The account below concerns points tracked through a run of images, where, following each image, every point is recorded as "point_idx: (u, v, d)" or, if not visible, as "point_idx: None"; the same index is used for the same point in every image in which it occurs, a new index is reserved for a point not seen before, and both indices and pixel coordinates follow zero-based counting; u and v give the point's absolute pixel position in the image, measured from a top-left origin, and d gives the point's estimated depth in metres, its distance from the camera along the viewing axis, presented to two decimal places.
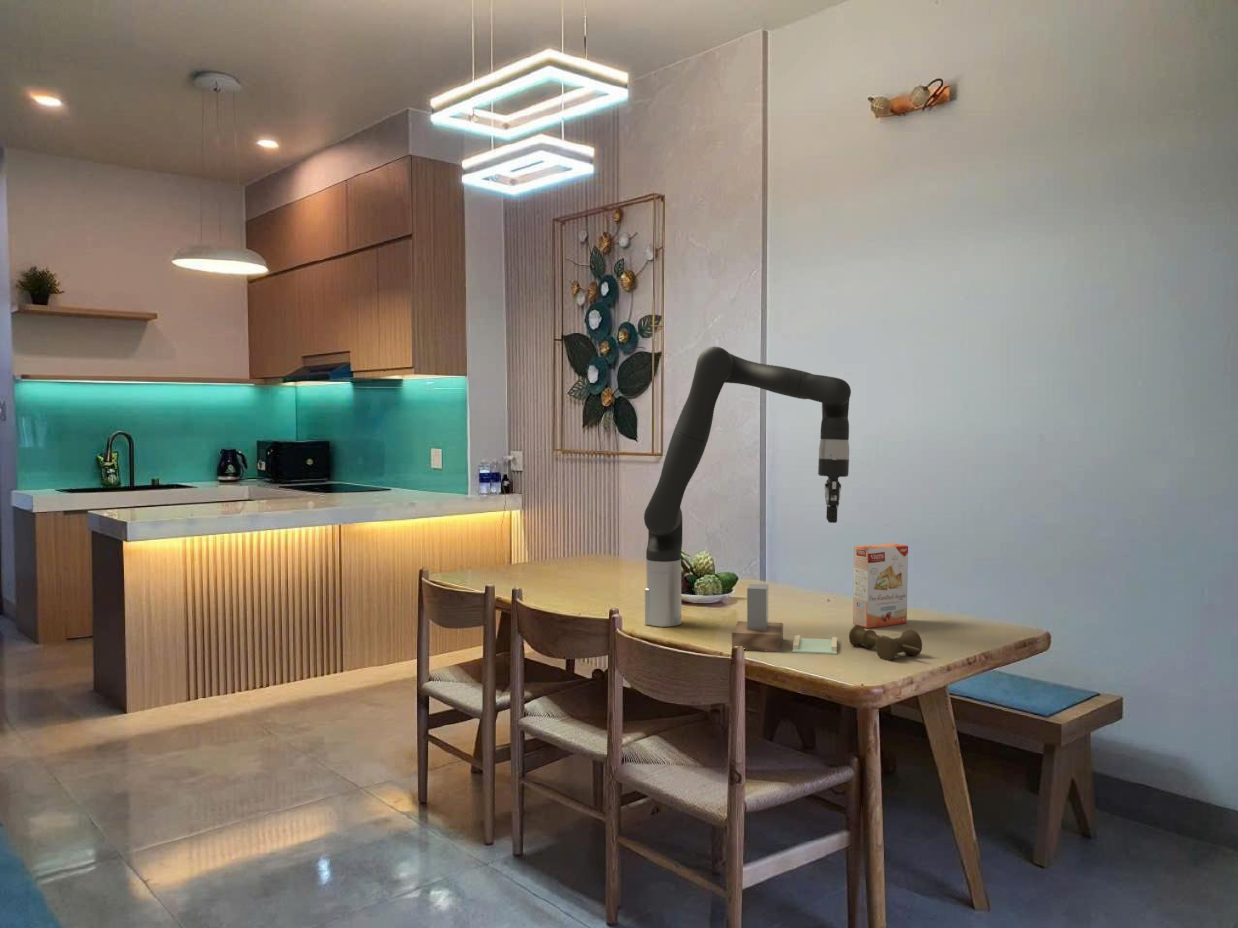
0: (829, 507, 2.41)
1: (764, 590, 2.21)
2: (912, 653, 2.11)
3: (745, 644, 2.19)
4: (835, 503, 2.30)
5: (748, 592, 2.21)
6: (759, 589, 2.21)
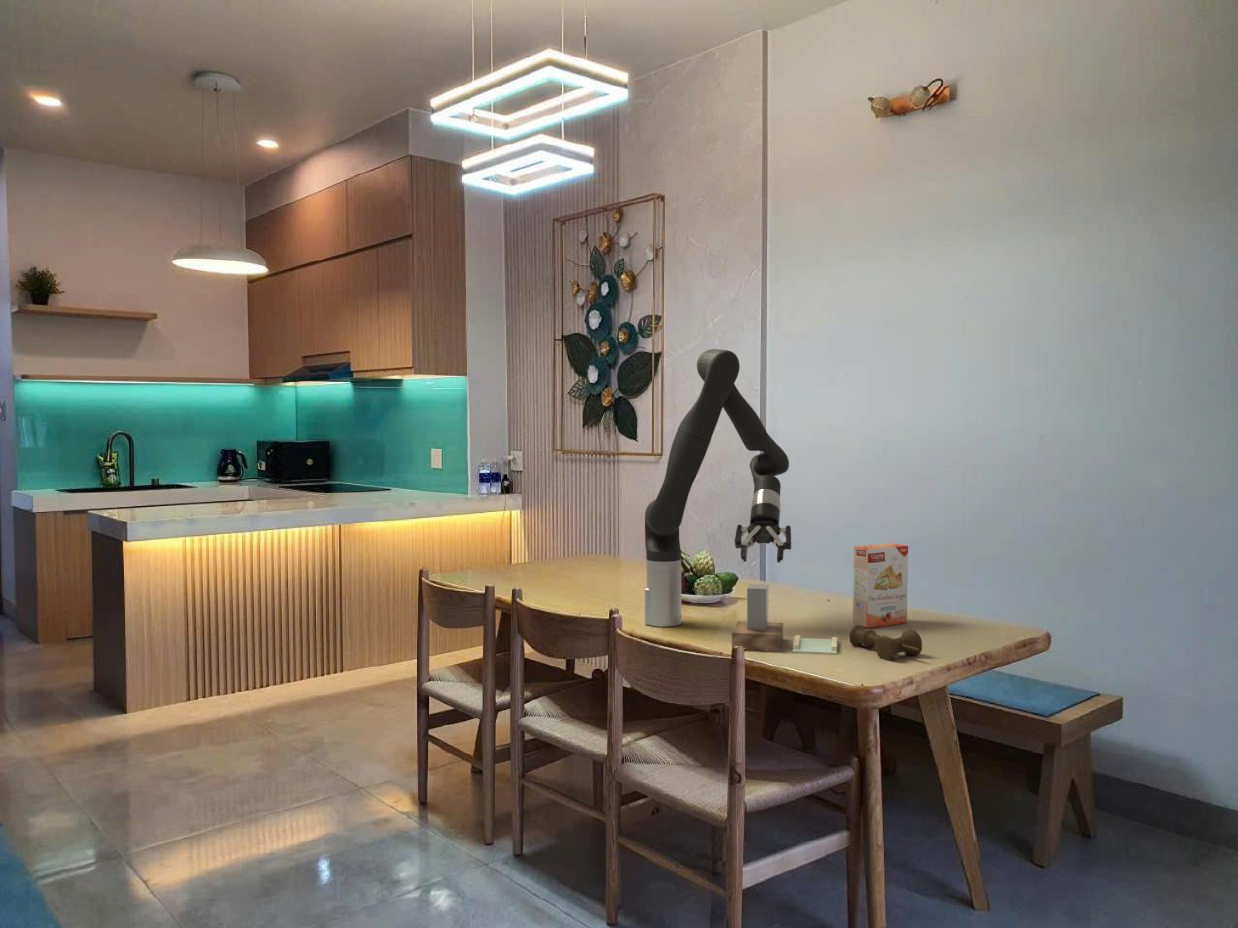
0: (746, 548, 2.38)
1: (764, 590, 2.21)
2: (912, 653, 2.11)
3: (745, 644, 2.19)
4: (790, 546, 2.37)
5: (748, 592, 2.21)
6: (759, 589, 2.21)
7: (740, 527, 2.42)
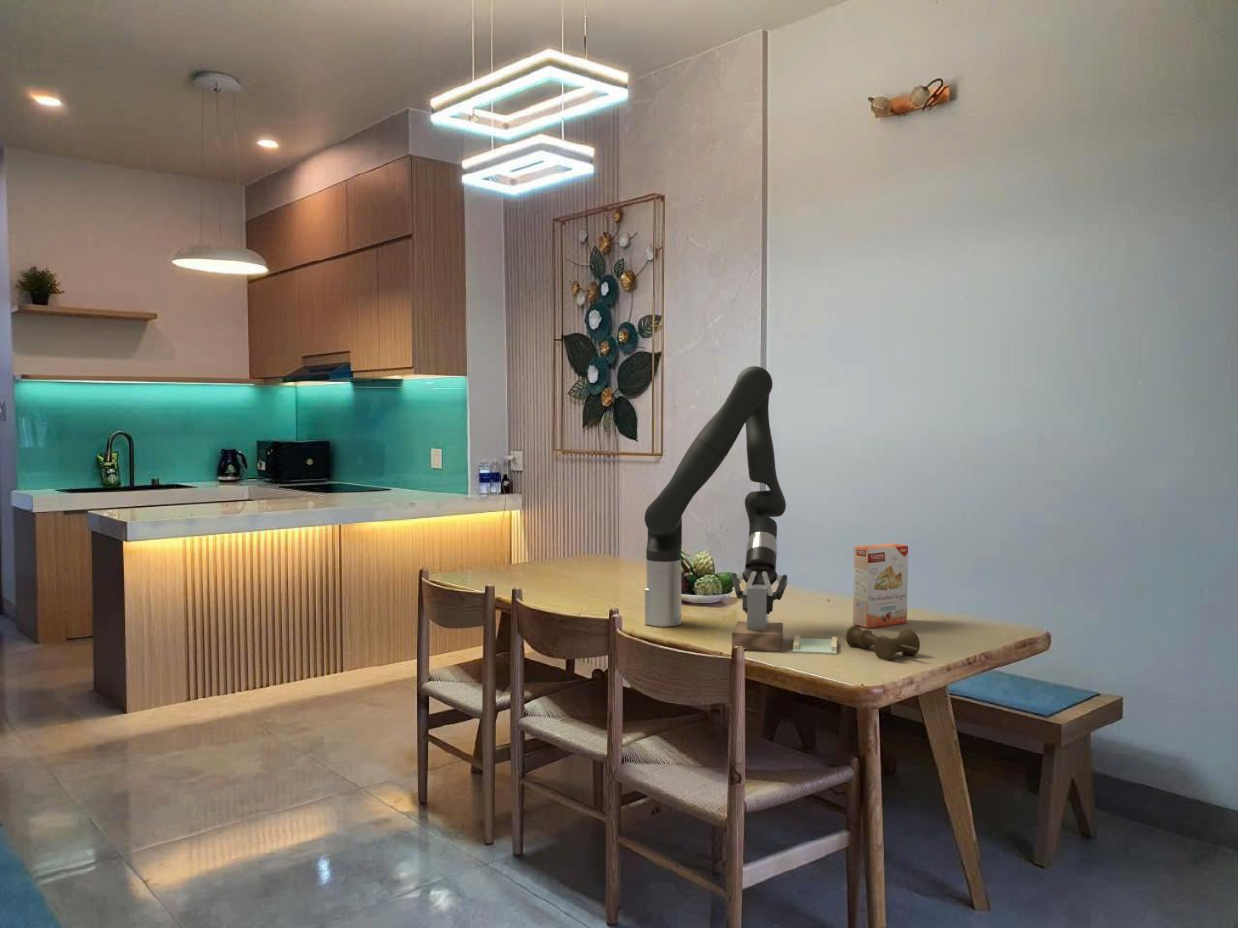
0: None
1: (764, 590, 2.20)
2: (910, 653, 2.12)
3: (745, 644, 2.19)
4: (780, 596, 2.24)
5: (748, 592, 2.21)
6: (759, 589, 2.21)
7: (735, 576, 2.29)
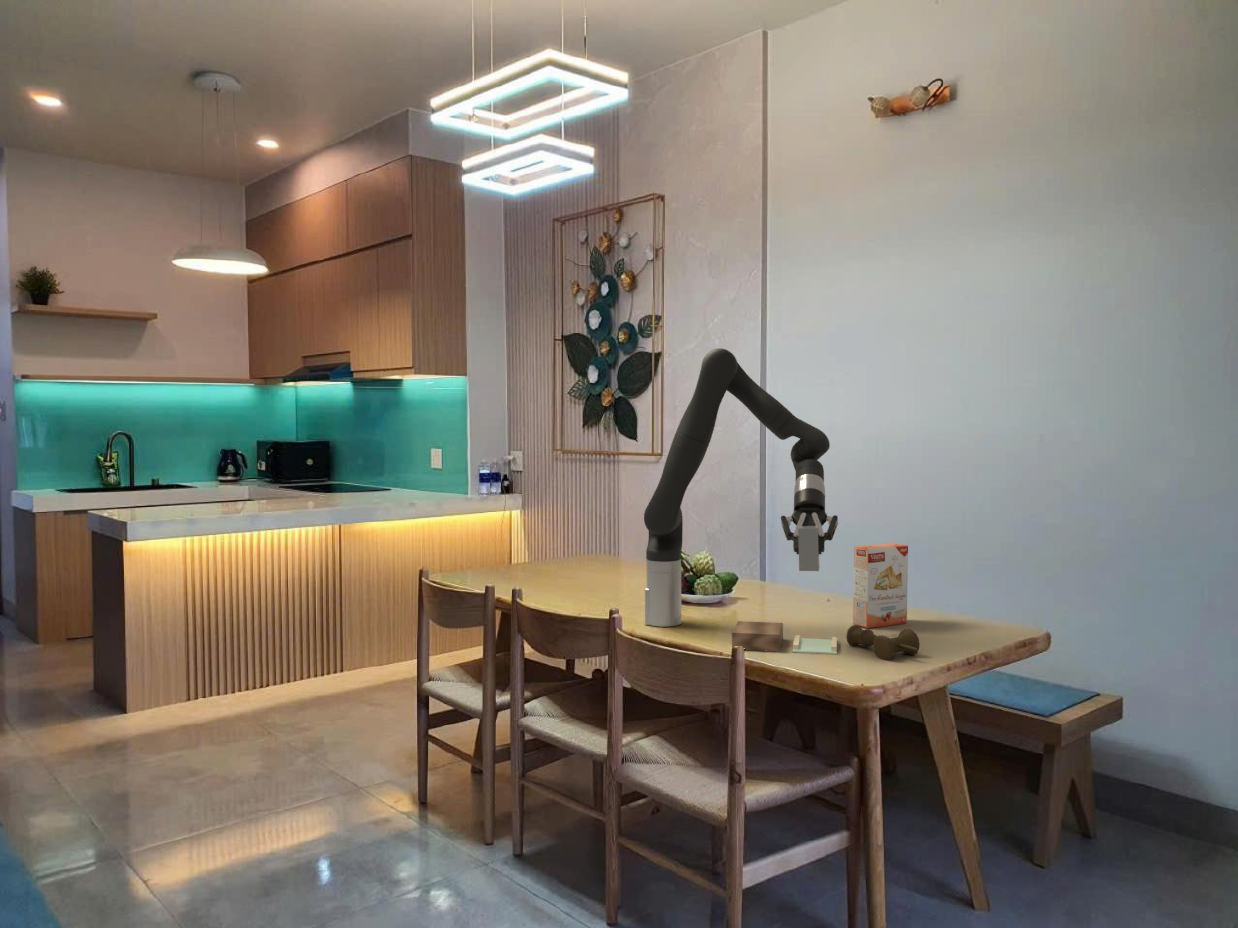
0: None
1: (816, 530, 2.17)
2: (909, 652, 2.12)
3: (745, 644, 2.19)
4: (831, 536, 2.21)
5: (799, 532, 2.18)
6: (810, 529, 2.17)
7: (784, 518, 2.25)
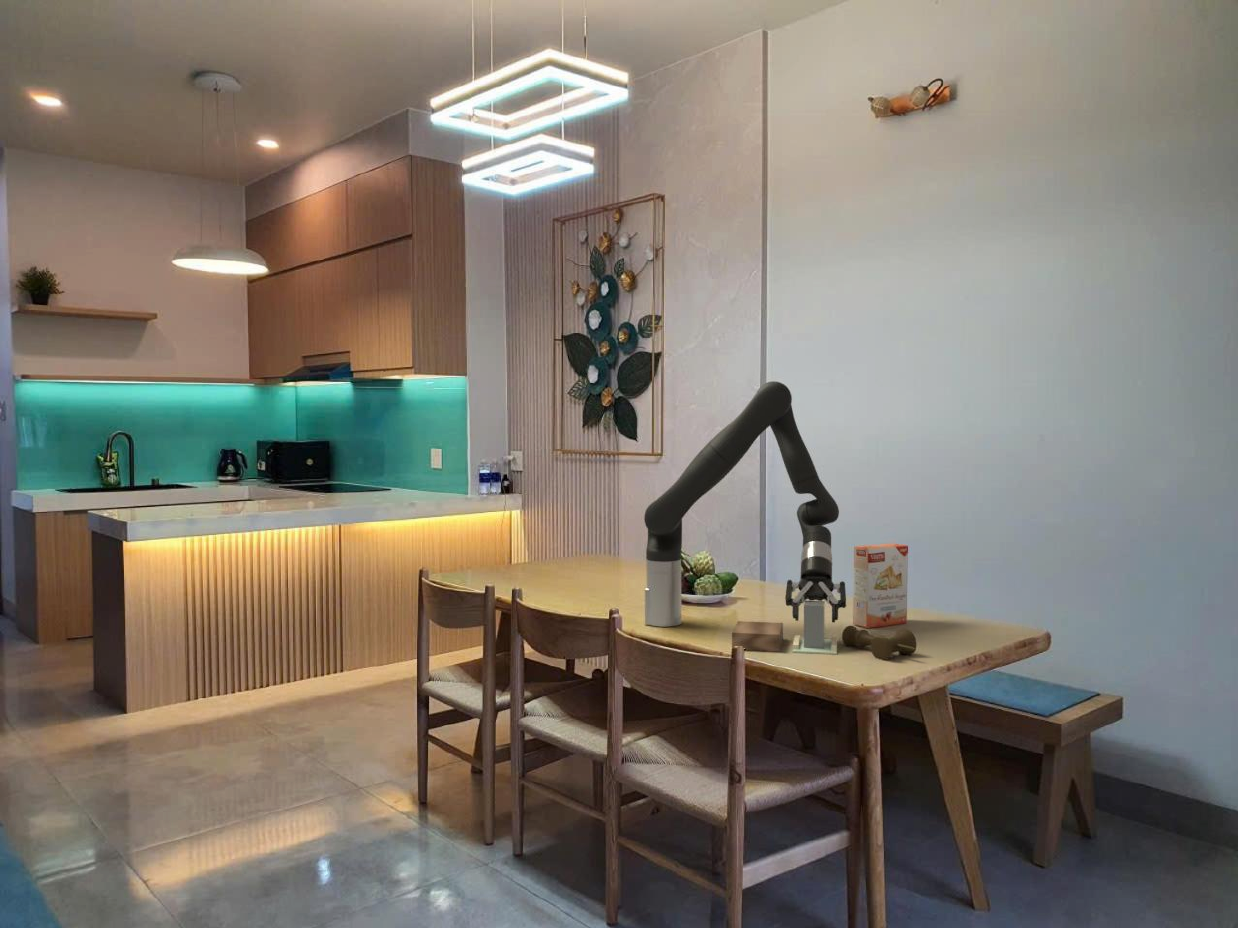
0: (798, 606, 2.22)
1: (821, 607, 2.18)
2: (906, 652, 2.12)
3: (745, 644, 2.19)
4: (845, 604, 2.22)
5: (805, 609, 2.19)
6: (816, 606, 2.18)
7: (790, 583, 2.26)
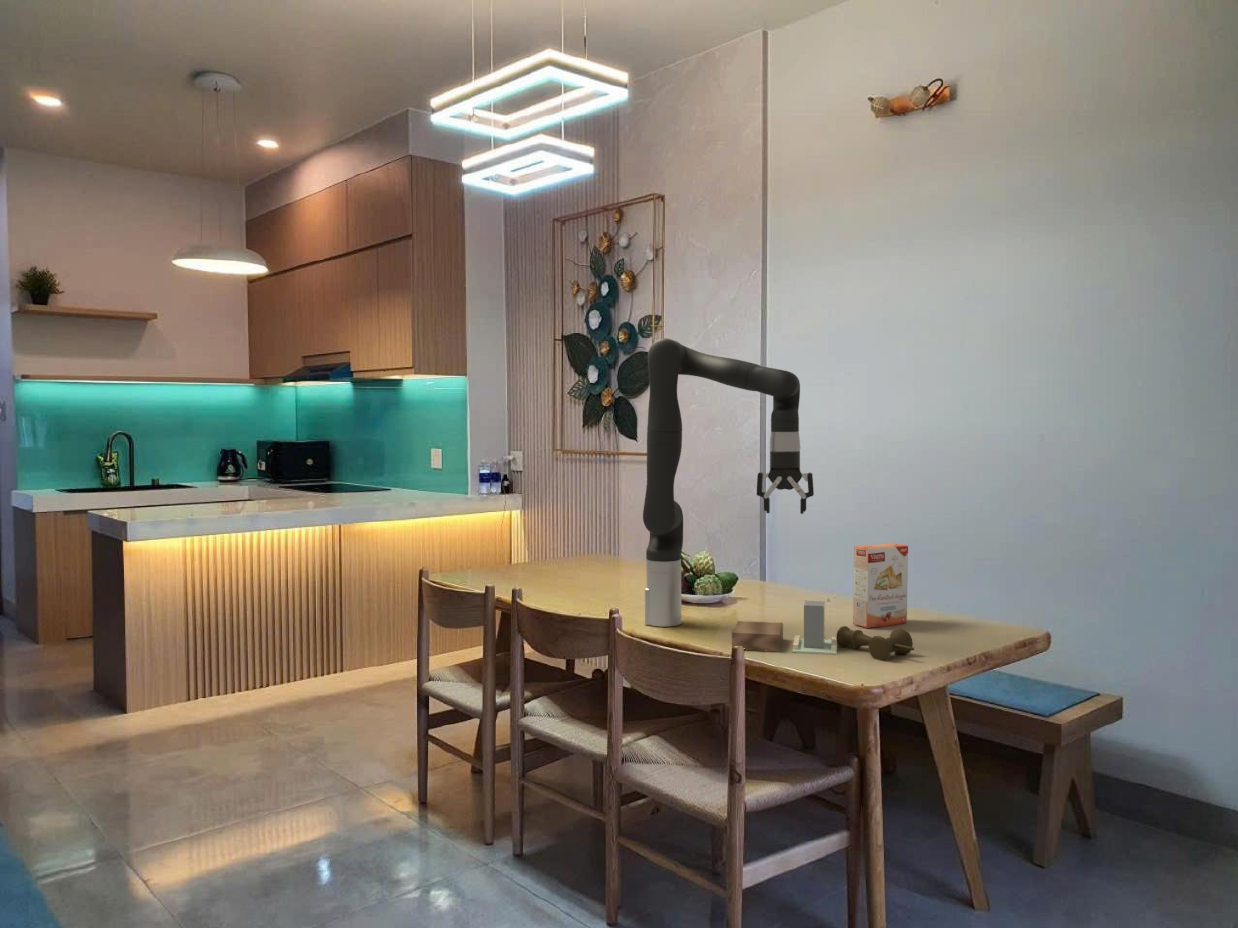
0: (769, 500, 2.38)
1: (821, 607, 2.18)
2: (903, 652, 2.12)
3: (745, 644, 2.19)
4: None
5: (805, 609, 2.19)
6: (816, 606, 2.18)
7: (761, 476, 2.38)
